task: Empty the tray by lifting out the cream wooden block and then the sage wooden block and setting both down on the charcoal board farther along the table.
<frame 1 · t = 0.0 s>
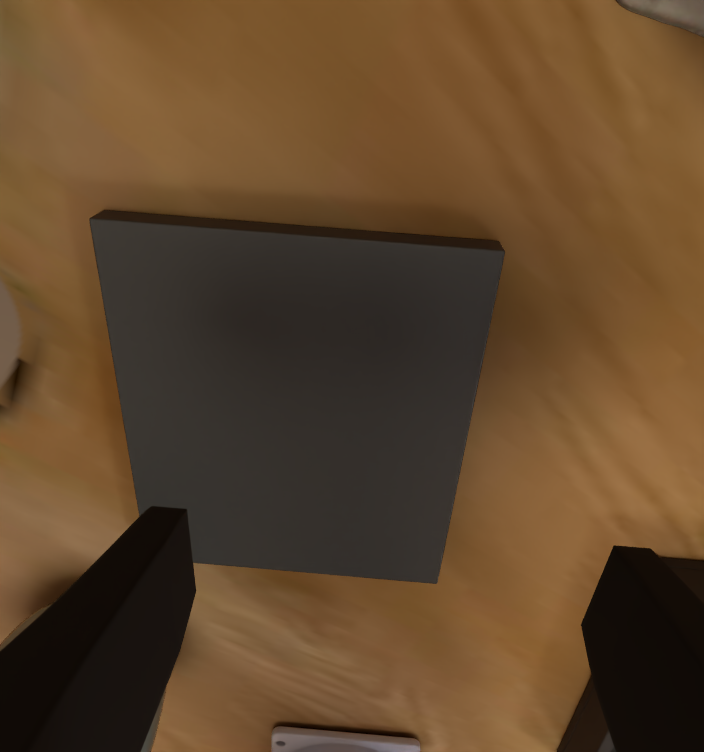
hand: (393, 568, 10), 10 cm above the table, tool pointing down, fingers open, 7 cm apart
board: (297, 417, 21), on the table
cup: (108, 621, 27), on the table
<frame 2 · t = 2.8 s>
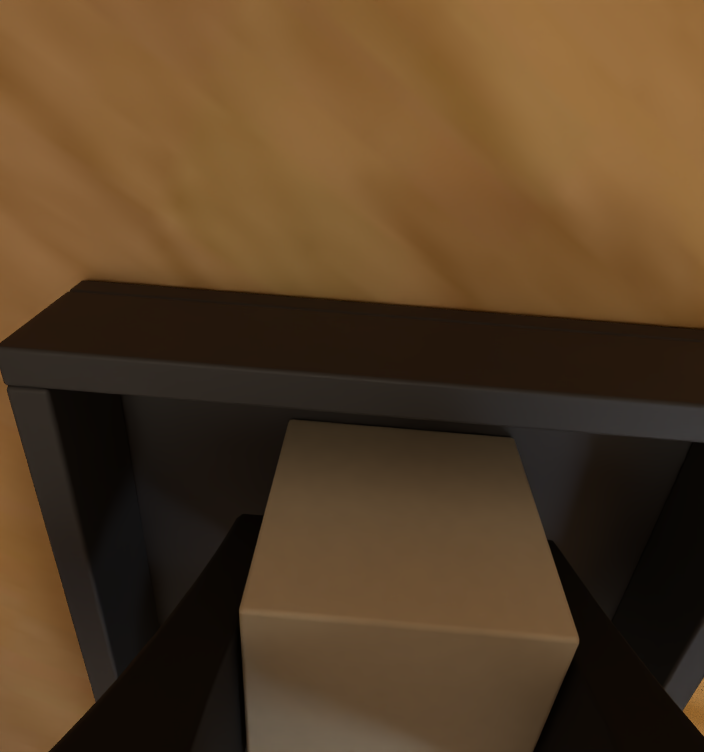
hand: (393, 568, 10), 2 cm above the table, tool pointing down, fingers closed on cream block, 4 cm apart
tray: (377, 607, 13), on the table
cream block: (390, 510, 11), resting on tray, touching gripper
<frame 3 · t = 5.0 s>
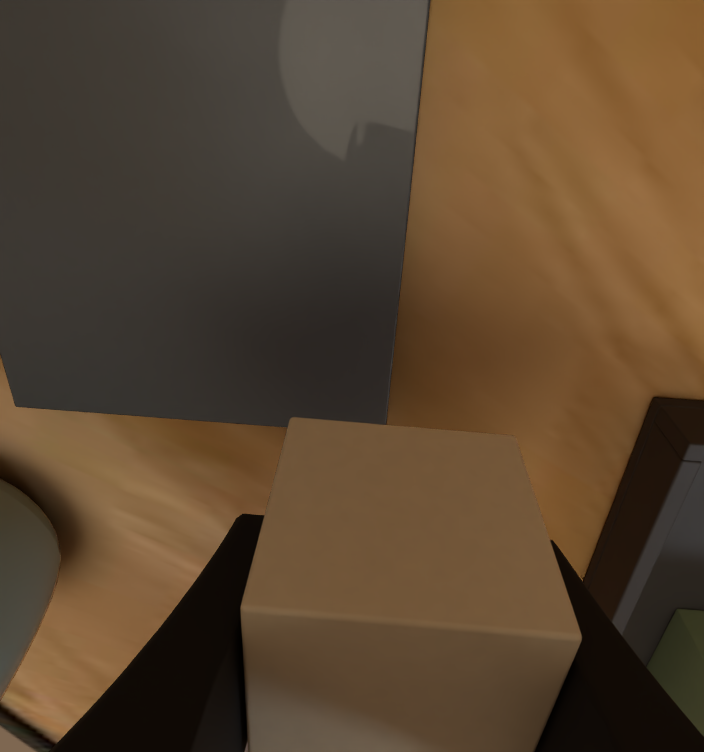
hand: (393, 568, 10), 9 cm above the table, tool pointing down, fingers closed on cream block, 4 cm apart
board: (188, 191, 16), on the table
cream block: (391, 509, 11), point 8 cm above the table, touching gripper
when the fingers open (2 cm above the table, at t = 7.3 s): cream block stays where it is, resting on board.
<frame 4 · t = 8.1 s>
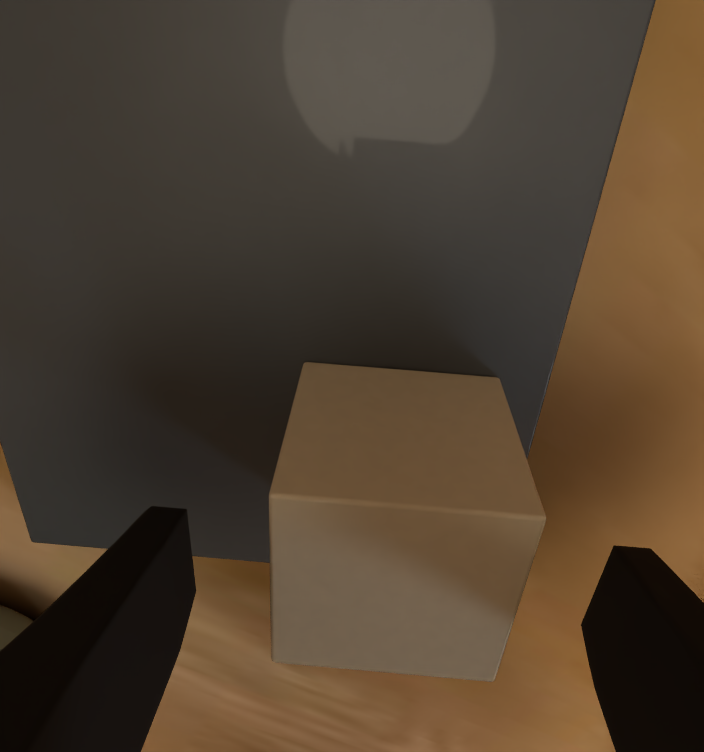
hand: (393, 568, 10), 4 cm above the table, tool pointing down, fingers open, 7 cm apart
board: (263, 295, 12), on the table
cup: (1, 636, 19), on the table
cream block: (391, 446, 12), point 1 cm above the table, touching board
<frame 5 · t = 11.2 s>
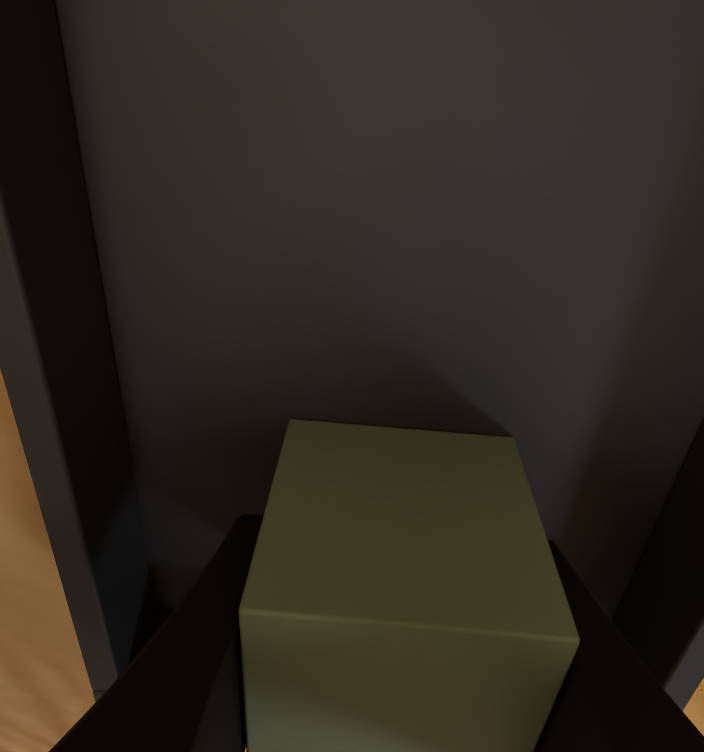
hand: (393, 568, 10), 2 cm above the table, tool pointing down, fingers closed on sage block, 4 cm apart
tray: (412, 338, 10), on the table
sage block: (390, 510, 11), resting on tray, touching gripper
when the fingers open (2 cm above the table, at t = 16.4 s): sage block stays where it is, resting on board.
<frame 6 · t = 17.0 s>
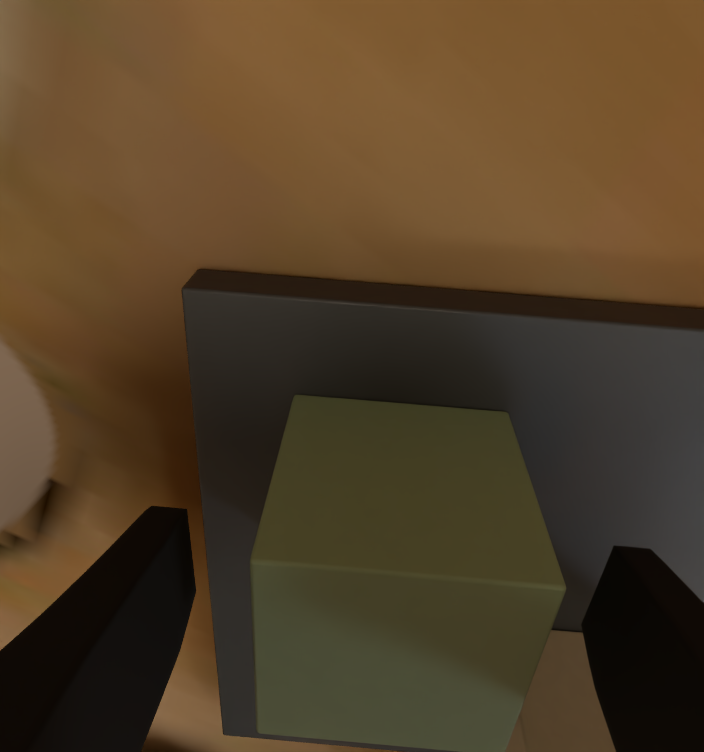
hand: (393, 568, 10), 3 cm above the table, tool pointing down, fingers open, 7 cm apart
board: (460, 560, 14), on the table
cream block: (563, 681, 14), point 1 cm above the table, touching board
sage block: (390, 484, 12), point 1 cm above the table, touching board
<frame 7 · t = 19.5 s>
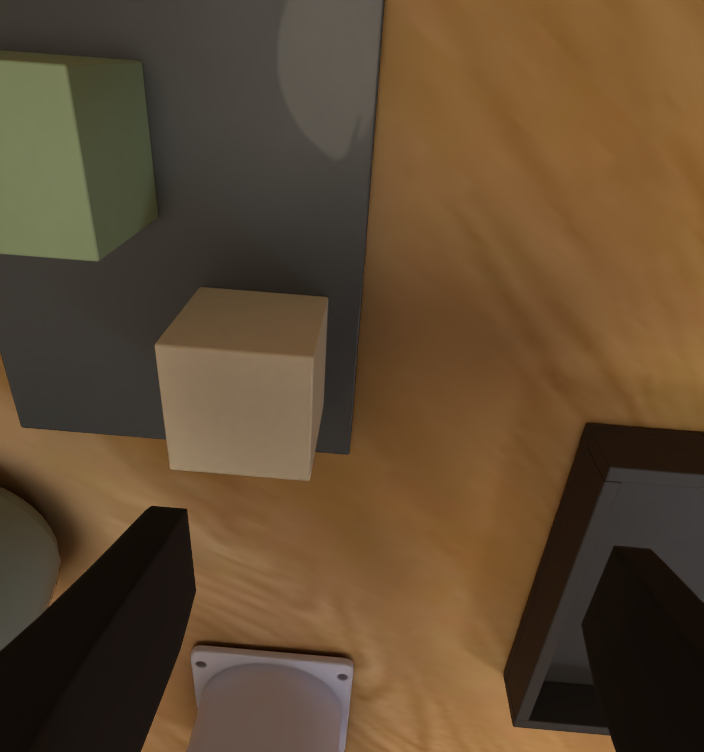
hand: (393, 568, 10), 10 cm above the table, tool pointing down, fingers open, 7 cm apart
board: (175, 244, 18), on the table
tray: (669, 580, 24), on the table
cream block: (264, 348, 18), point 1 cm above the table, touching board
sage block: (79, 138, 15), point 1 cm above the table, touching board
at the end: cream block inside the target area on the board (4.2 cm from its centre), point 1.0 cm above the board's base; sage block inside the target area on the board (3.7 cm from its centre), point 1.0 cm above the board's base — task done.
